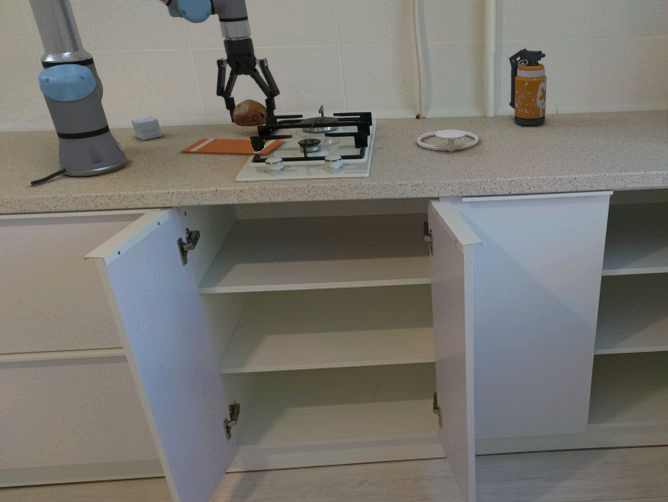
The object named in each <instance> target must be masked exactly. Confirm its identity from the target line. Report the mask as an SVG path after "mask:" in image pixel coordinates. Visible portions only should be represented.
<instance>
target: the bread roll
mask: <svg viewBox="0 0 668 502" xmlns="http://www.w3.org/2000/svg"><path fill="white" fill-rule="evenodd" d="M235 106H236V107H235V109H234V111H233V120H234V122H235V123H234V124H235V125H236V126H238V127H247V128H248V127H249V128H250V127H259V126H263V125H266V124H267V123H266V122H265V118H266V117H268V114H267V109H266V105H263V103H261V102H259V101H257V100H254V99H252V98H251V99H248V98H247V99H245V100H243V101H241V102H239V103H238V104H236V105H235Z"/></svg>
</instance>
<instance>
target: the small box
mask: <svg viewBox="0 0 668 502" xmlns="http://www.w3.org/2000/svg"><path fill="white" fill-rule="evenodd" d="M131 125H132V128H133V131H134V134H135V137H136V138H138V139H140V140H142V141H145V140H151V139H155V138H160V137H163V134H162V131H161V127H160V123H159V119H157V118H155V117H152V116H147V117H142V118H137V119H136V118H135V119H132V120H131Z"/></svg>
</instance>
